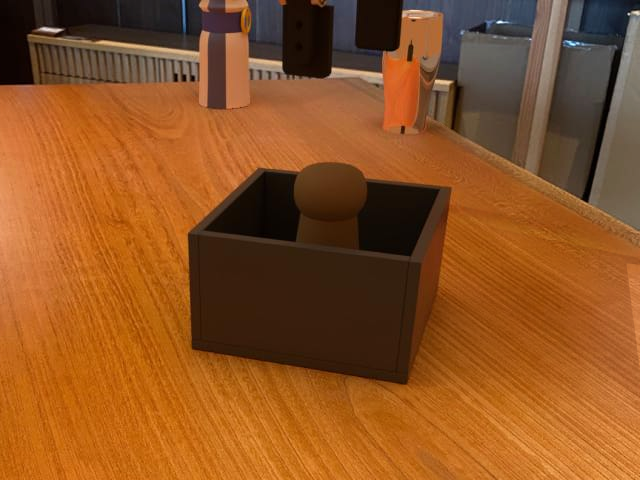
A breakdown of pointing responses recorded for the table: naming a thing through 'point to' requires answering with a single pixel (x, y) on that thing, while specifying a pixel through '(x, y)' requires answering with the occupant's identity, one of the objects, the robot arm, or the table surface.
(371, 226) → the bin
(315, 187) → the cork
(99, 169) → the table surface
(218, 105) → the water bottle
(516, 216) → the table surface
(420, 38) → the beer glass
